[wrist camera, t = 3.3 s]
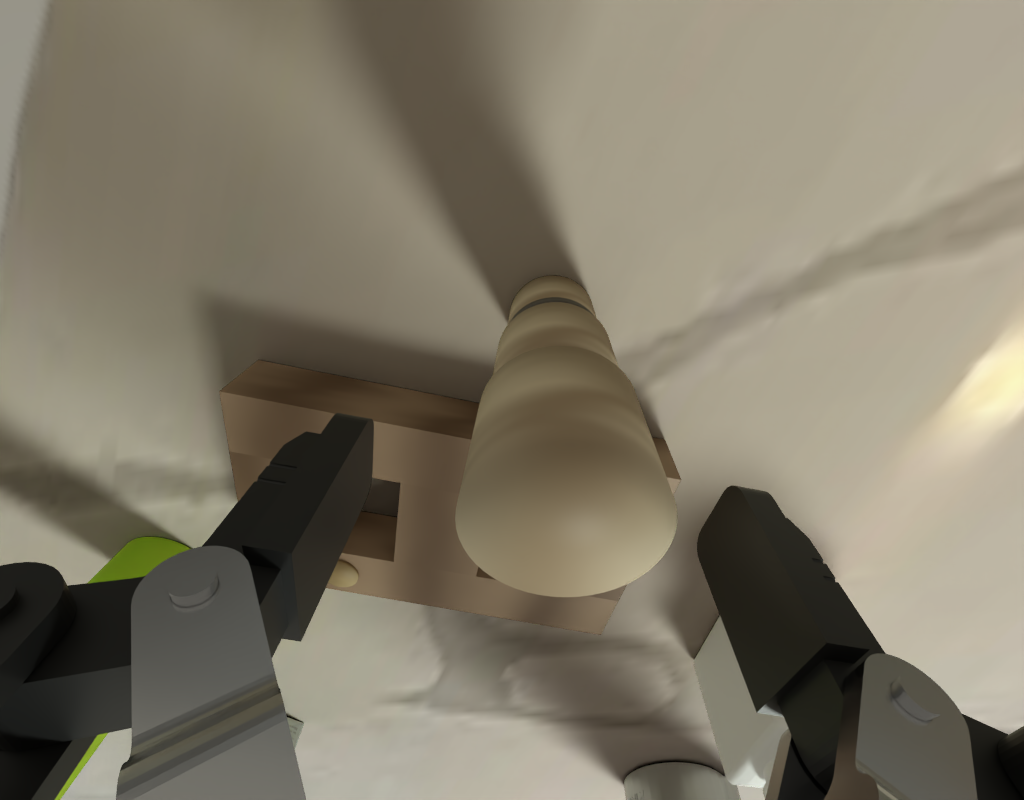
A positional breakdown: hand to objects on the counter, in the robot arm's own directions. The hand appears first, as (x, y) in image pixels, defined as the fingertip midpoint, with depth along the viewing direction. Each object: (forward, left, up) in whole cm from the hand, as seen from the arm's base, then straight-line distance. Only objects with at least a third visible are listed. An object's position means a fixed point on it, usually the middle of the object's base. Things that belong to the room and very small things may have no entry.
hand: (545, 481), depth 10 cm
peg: (0, 0, -11) cm, 11 cm away
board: (+3, +11, -11) cm, 15 cm away
